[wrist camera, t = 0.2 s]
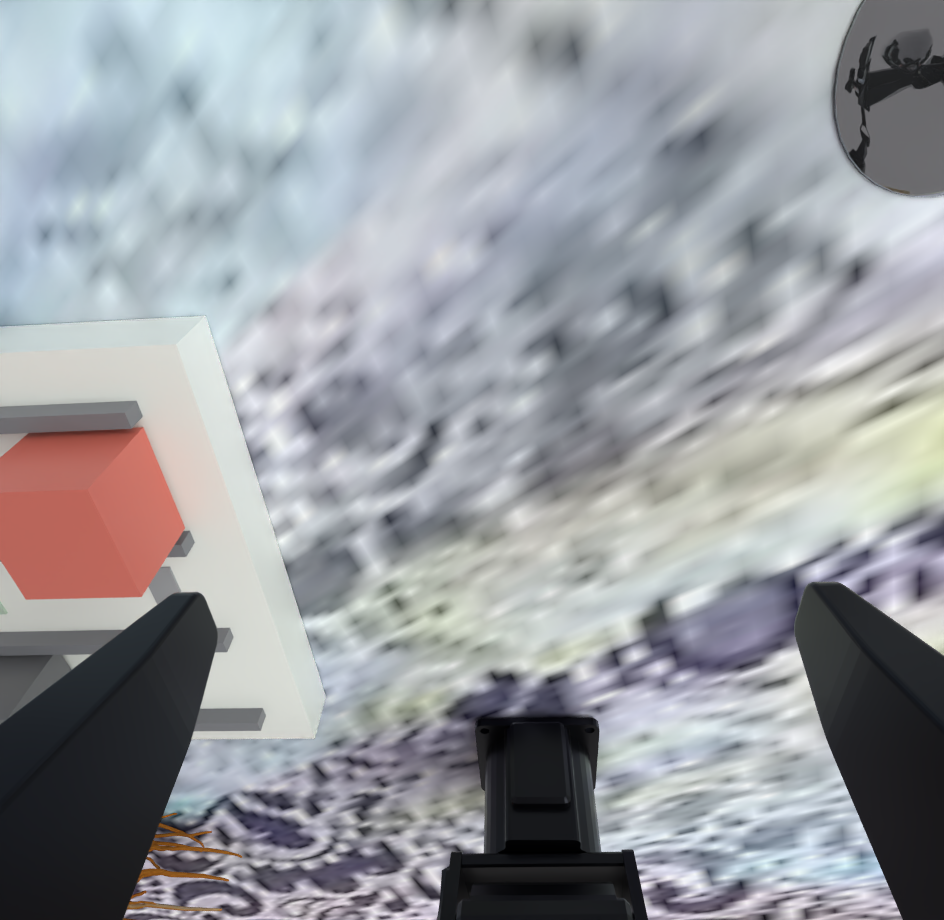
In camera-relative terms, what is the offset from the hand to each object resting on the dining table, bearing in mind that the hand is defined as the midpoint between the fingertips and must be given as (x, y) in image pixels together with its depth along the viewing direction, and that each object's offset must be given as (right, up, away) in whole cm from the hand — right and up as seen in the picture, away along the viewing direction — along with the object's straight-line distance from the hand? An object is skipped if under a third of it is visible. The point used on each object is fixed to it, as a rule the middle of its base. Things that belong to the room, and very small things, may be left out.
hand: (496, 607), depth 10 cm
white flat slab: (-17, 0, +17) cm, 24 cm away
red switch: (-13, +1, +13) cm, 19 cm away
